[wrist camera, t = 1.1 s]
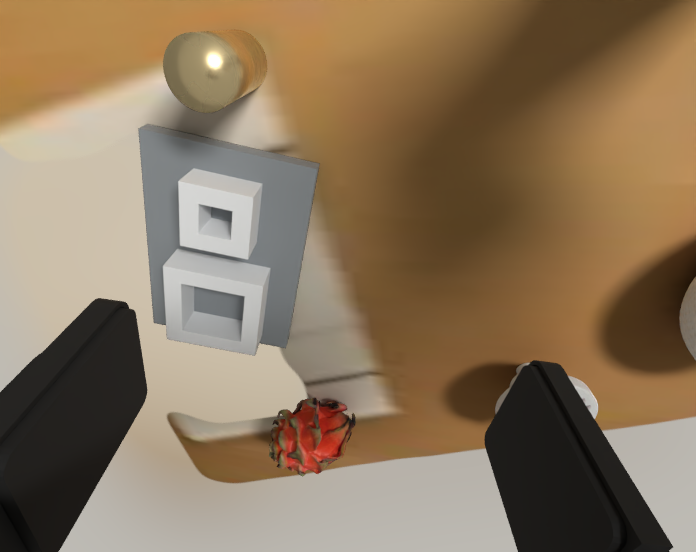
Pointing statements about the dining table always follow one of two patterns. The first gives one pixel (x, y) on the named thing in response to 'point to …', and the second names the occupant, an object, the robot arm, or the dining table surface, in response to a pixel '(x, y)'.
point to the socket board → (223, 238)
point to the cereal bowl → (689, 318)
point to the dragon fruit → (310, 436)
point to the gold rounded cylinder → (213, 68)
